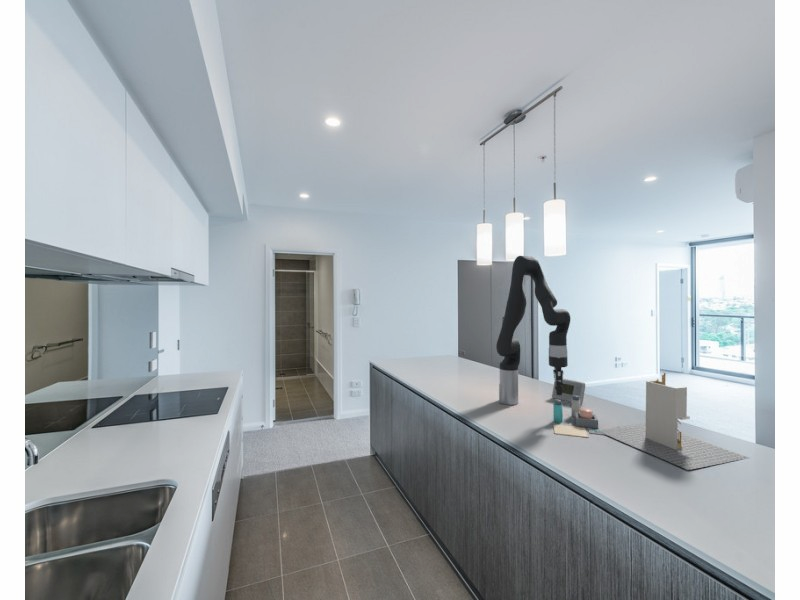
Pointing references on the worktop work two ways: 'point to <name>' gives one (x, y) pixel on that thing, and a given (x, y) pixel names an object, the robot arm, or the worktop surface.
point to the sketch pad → (570, 431)
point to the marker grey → (575, 404)
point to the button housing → (586, 421)
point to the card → (593, 431)
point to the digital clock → (570, 390)
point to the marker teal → (558, 411)
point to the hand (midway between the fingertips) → (558, 392)
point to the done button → (586, 413)
